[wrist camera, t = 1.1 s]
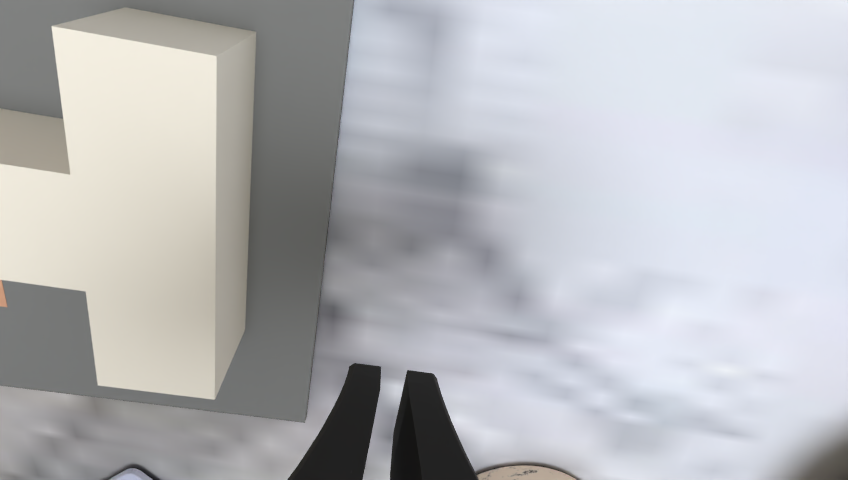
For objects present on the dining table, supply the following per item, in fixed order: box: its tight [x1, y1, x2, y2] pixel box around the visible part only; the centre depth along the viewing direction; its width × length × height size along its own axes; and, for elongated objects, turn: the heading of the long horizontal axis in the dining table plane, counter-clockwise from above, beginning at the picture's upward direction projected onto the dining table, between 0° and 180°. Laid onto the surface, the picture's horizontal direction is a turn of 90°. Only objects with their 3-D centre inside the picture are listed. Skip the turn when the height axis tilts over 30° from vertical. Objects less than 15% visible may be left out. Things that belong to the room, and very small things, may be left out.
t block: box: [0, 7, 256, 400], centre depth 18 cm, size 12×12×4 cm
